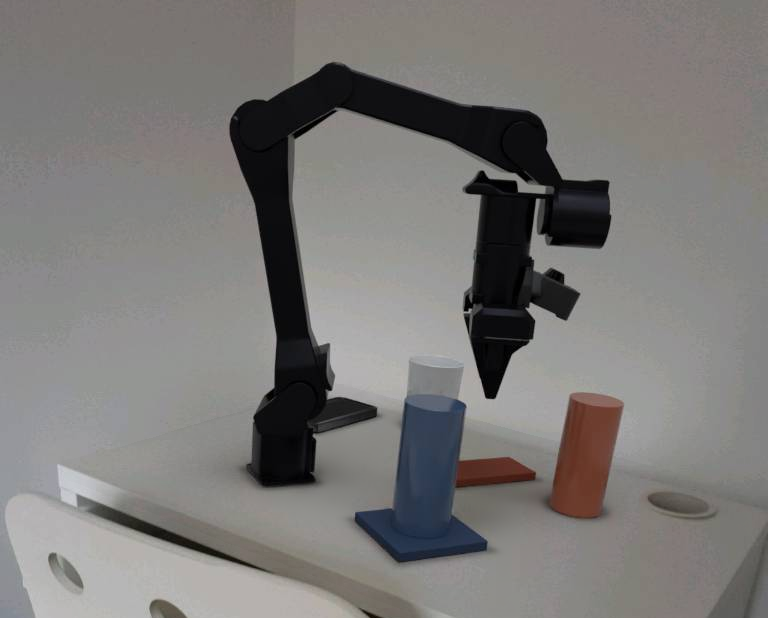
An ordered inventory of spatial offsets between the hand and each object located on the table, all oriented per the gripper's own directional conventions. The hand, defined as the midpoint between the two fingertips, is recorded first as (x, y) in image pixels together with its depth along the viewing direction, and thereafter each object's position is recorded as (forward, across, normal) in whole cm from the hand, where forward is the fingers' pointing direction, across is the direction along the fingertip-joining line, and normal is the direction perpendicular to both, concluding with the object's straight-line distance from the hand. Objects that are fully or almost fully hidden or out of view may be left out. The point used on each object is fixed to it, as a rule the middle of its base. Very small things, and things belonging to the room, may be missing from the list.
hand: (487, 388), depth 91 cm
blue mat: (+12, -14, +7) cm, 20 cm away
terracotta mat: (+13, +7, -1) cm, 14 cm away
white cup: (+13, +25, +5) cm, 28 cm away
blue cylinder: (+11, -14, +7) cm, 19 cm away
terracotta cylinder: (+13, -1, -12) cm, 18 cm away
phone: (+12, +24, +20) cm, 34 cm away
